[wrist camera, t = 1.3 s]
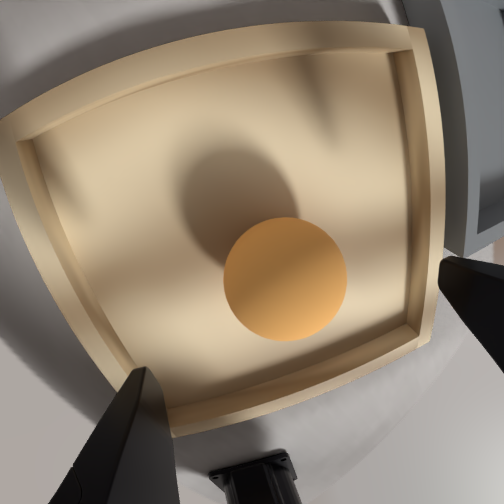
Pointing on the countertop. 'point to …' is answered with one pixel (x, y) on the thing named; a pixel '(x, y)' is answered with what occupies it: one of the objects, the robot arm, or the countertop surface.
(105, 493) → the robot arm
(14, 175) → the dish
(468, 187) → the tray
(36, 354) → the countertop surface
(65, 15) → the countertop surface
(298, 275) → the ball
